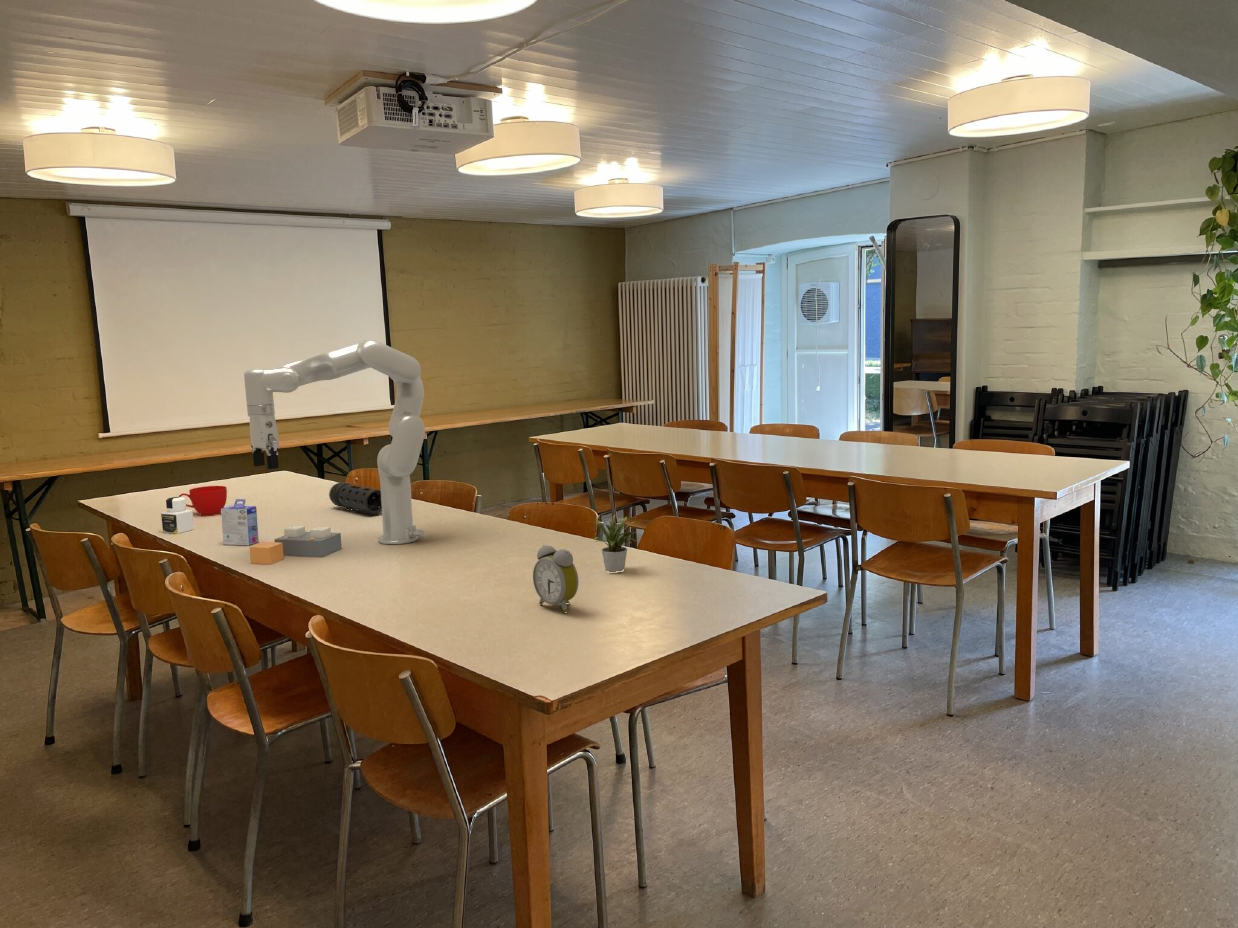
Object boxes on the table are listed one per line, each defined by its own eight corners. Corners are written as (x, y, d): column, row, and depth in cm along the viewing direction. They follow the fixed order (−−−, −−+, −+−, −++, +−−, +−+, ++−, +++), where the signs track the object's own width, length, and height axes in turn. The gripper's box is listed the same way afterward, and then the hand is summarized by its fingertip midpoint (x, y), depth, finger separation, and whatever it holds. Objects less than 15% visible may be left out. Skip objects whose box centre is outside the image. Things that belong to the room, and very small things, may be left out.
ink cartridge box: (260, 542, 284) (256, 498, 282) (249, 546, 279) (246, 502, 277) (233, 541, 286) (229, 498, 284) (222, 545, 281) (218, 501, 279)
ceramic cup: (180, 514, 334) (178, 488, 332) (228, 509, 341) (226, 484, 339) (179, 520, 322) (176, 493, 321) (229, 515, 329) (226, 489, 328)
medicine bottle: (162, 532, 301) (159, 498, 299) (179, 528, 308) (176, 495, 306) (177, 534, 298) (174, 500, 297) (194, 529, 305) (191, 496, 303)
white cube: (305, 538, 272) (304, 526, 271) (297, 542, 268) (296, 529, 267) (293, 538, 273) (292, 525, 272) (285, 541, 269) (284, 529, 268)
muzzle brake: (366, 518, 319) (364, 491, 318) (327, 509, 338) (326, 483, 337) (388, 514, 326) (386, 487, 324) (350, 505, 345) (348, 480, 343)
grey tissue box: (341, 548, 273) (340, 531, 272) (322, 557, 263) (320, 539, 262) (296, 546, 277) (295, 529, 276) (275, 555, 266) (274, 537, 265)
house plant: (592, 580, 231) (590, 521, 229) (580, 567, 245) (578, 511, 242) (642, 575, 235) (642, 517, 233) (628, 563, 248) (627, 507, 246)
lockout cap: (283, 558, 261) (282, 542, 261) (270, 564, 255) (268, 547, 254) (264, 557, 263) (263, 541, 262) (250, 563, 257) (249, 547, 256)
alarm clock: (532, 605, 211) (530, 545, 209) (553, 599, 216) (552, 540, 213) (563, 615, 203) (562, 553, 201) (585, 609, 207) (583, 548, 205)
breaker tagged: (331, 539, 270) (330, 527, 269) (323, 543, 265) (322, 530, 265) (318, 539, 271) (317, 526, 270) (310, 542, 266) (309, 529, 266)
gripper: (285, 410, 254) (290, 468, 257) (261, 408, 267) (266, 463, 269) (260, 413, 249) (266, 471, 252) (236, 410, 261) (242, 466, 264)
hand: (266, 467), depth 260 cm, fingers open, 9 cm apart
